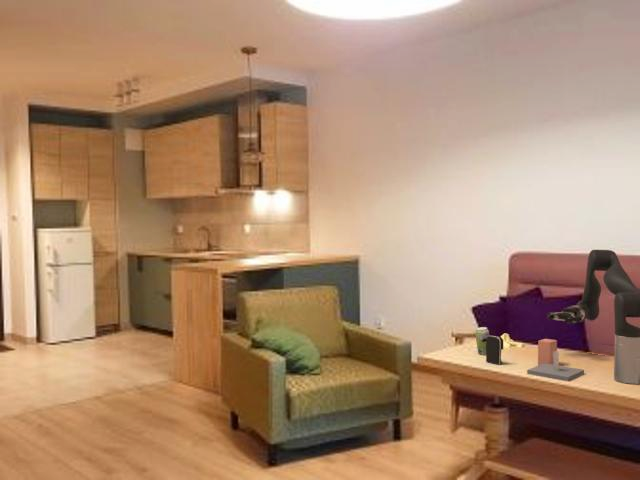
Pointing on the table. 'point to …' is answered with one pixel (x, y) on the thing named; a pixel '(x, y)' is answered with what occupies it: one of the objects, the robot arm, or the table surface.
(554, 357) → the keyed shaft
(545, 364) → the base plate
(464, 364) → the table surface
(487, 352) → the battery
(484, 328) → the beverage can
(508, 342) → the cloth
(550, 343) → the salmon orange block
